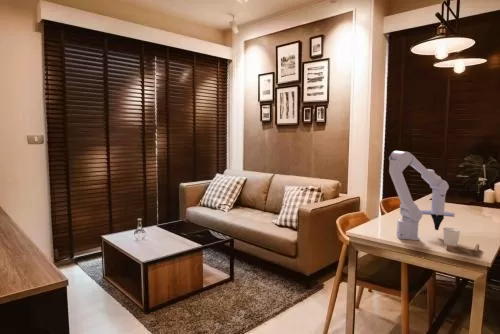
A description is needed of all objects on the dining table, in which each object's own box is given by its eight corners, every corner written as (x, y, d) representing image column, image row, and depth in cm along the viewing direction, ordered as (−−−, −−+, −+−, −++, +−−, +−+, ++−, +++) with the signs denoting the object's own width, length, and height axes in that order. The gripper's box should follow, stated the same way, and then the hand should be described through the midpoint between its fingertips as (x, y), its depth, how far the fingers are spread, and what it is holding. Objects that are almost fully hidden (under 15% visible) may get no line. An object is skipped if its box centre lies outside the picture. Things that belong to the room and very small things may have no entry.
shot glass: (457, 247, 154) (458, 232, 153) (440, 244, 159) (441, 229, 158) (460, 243, 159) (461, 229, 158) (444, 240, 164) (445, 226, 163)
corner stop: (493, 256, 143) (494, 250, 143) (459, 257, 142) (459, 251, 142) (477, 248, 152) (478, 243, 152) (445, 249, 151) (445, 244, 151)
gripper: (422, 203, 167) (421, 229, 169) (456, 205, 161) (454, 233, 163) (421, 200, 174) (420, 226, 175) (453, 203, 168) (452, 229, 169)
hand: (436, 229), depth 169 cm, fingers closed
